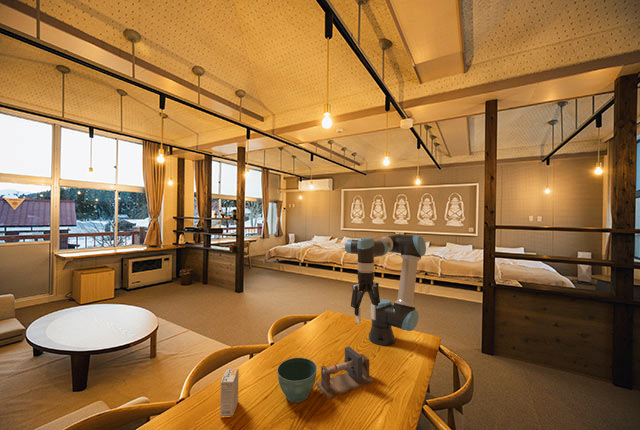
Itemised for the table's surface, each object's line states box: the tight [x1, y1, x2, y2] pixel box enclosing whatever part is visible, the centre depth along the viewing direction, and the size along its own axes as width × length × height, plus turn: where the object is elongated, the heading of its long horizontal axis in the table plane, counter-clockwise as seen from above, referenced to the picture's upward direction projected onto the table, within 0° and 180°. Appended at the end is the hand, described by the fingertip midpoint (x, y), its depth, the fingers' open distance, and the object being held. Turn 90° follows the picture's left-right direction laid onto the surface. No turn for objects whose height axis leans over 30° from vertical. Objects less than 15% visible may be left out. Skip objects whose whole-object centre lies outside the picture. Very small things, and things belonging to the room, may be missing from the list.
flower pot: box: [276, 357, 318, 404], centre depth 103 cm, size 16×16×11 cm
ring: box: [344, 346, 362, 382], centre depth 113 cm, size 2×10×10 cm, turn 28°
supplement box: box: [219, 368, 240, 417], centre depth 95 cm, size 8×5×13 cm, turn 5°
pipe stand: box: [316, 353, 376, 400], centre depth 111 cm, size 24×10×9 cm, turn 118°
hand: (365, 320), depth 116 cm, fingers open, 8 cm apart
